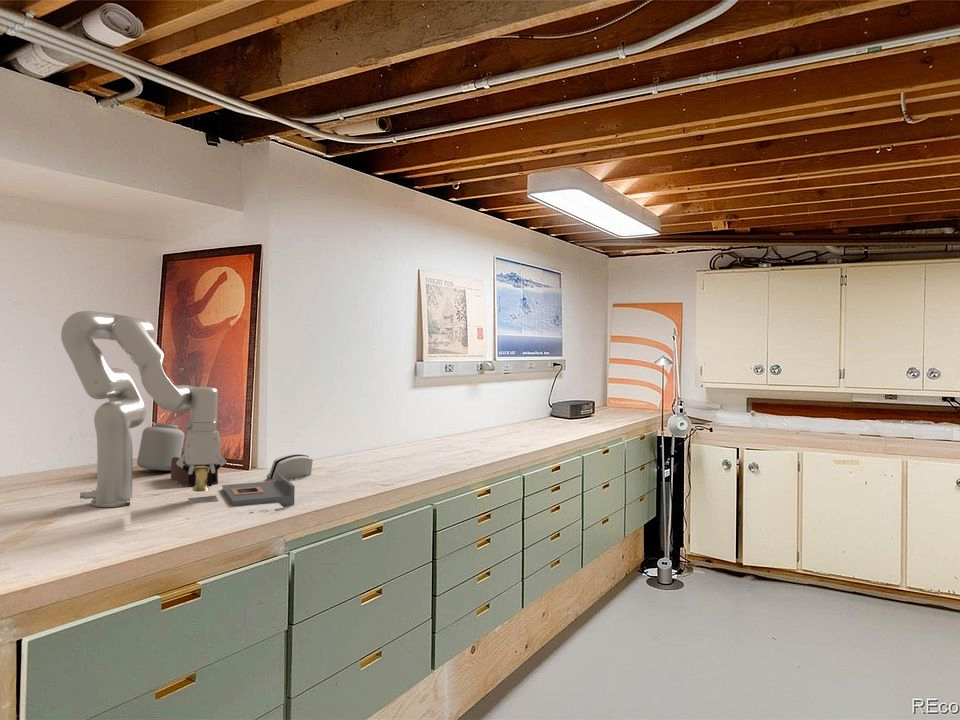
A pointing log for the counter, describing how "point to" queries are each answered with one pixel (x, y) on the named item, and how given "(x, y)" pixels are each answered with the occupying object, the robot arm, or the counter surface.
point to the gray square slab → (203, 499)
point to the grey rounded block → (291, 466)
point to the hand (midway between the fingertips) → (200, 485)
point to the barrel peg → (201, 478)
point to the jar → (160, 446)
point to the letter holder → (185, 473)
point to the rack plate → (261, 492)
